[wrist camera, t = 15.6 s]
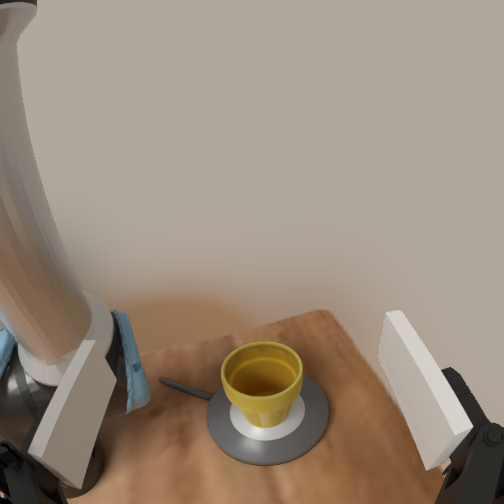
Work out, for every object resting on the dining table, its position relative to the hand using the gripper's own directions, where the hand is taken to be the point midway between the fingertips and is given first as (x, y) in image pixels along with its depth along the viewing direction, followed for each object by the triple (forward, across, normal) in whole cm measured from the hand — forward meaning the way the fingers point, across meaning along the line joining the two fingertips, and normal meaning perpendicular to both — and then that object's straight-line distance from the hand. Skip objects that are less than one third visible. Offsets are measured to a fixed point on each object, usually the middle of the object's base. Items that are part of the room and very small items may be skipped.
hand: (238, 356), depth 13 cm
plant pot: (+17, 0, -29) cm, 33 cm away
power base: (+19, -5, -30) cm, 36 cm away
